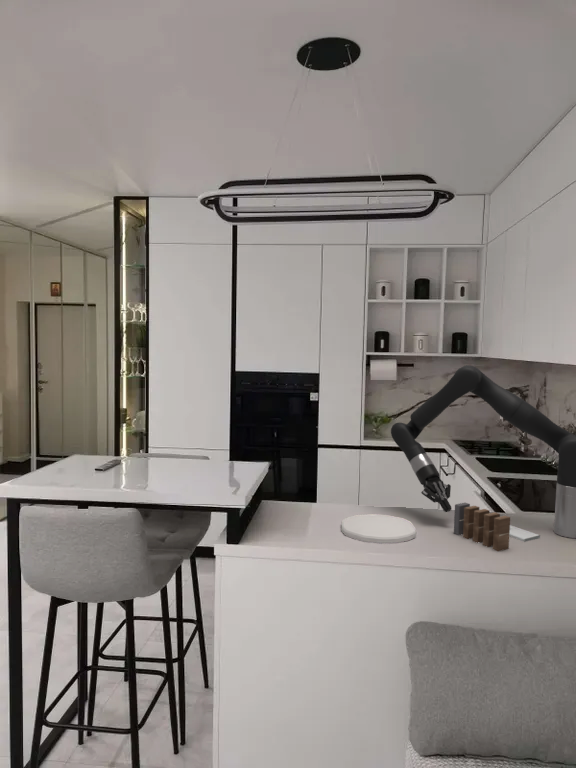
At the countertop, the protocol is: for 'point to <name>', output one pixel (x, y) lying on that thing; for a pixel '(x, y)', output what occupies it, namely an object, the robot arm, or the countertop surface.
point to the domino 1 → (459, 518)
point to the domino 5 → (501, 533)
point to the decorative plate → (378, 528)
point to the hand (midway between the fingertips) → (448, 510)
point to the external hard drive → (522, 534)
